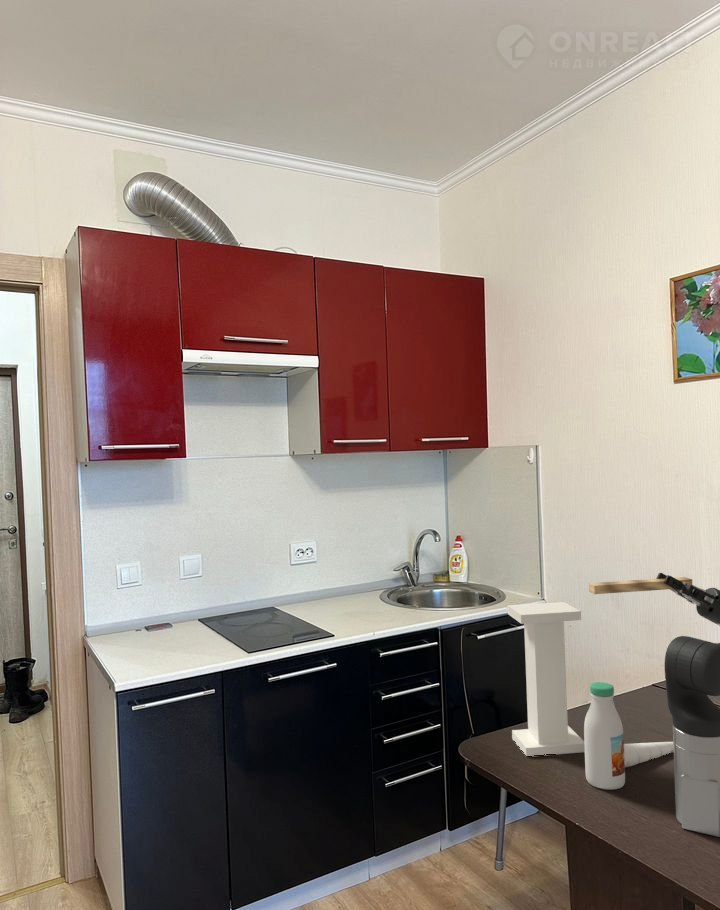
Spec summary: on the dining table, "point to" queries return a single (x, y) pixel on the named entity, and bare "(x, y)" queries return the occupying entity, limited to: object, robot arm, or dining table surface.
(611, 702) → the milk bottle
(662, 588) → the slat
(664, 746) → the unicorn horn
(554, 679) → the stand
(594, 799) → the dining table surface
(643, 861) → the dining table surface
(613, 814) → the dining table surface
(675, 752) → the robot arm
